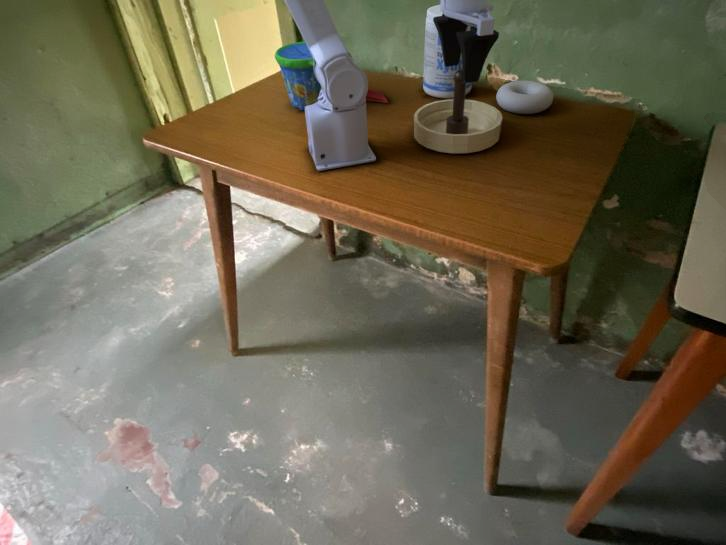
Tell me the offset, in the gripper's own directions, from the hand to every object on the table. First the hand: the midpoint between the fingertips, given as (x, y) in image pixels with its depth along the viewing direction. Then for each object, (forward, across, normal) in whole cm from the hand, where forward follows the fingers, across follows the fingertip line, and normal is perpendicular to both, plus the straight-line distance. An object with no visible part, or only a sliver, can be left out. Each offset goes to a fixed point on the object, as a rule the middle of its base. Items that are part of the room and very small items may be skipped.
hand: (460, 73), depth 76 cm
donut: (+11, +7, -16) cm, 20 cm away
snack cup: (+11, +23, +21) cm, 33 cm away
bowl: (+10, 0, 0) cm, 10 cm away
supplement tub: (+11, +19, -6) cm, 23 cm away
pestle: (+10, 0, 0) cm, 10 cm away
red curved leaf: (+11, +22, +11) cm, 27 cm away
